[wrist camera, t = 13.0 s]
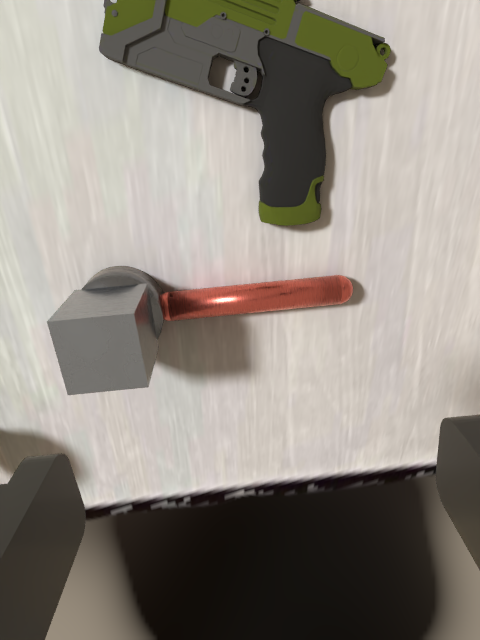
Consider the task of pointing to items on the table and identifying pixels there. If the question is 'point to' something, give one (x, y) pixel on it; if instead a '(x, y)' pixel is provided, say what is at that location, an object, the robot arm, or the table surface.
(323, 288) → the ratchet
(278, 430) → the table surface
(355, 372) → the table surface
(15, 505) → the robot arm
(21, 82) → the table surface
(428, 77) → the table surface
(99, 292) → the grey bevelled cube
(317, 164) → the gun
